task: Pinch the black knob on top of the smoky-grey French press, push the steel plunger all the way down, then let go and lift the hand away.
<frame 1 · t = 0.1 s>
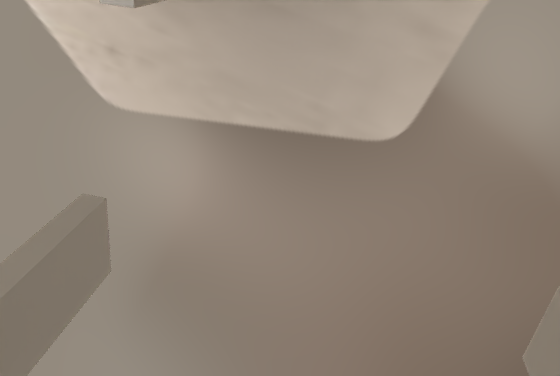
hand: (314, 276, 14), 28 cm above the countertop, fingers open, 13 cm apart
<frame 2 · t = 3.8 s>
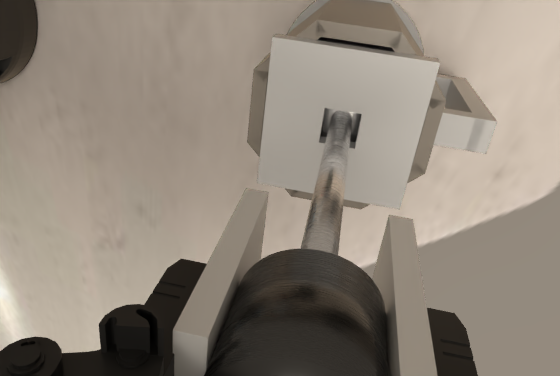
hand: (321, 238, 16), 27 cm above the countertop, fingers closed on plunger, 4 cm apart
press: (350, 63, 39), on the countertop
plunger: (328, 198, 18), point 24 cm above the countertop, slide at 0.0 cm, touching gripper
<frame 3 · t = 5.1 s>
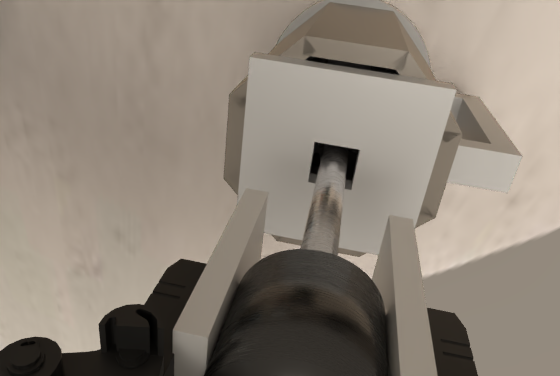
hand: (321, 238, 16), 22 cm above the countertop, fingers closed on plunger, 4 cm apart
press: (348, 78, 35), on the countertop
plunger: (327, 198, 18), point 19 cm above the countertop, slide at 5.0 cm, touching gripper
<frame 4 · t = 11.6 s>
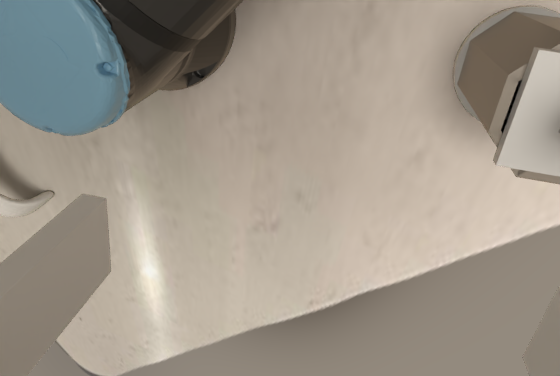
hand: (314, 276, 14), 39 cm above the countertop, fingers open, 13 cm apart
press: (514, 68, 46), on the countertop
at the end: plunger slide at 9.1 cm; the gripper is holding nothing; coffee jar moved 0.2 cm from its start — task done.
